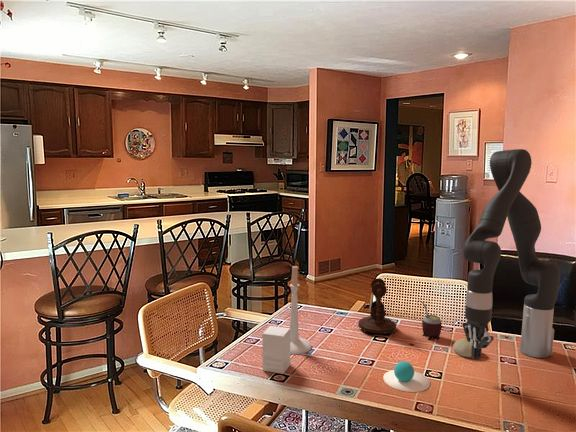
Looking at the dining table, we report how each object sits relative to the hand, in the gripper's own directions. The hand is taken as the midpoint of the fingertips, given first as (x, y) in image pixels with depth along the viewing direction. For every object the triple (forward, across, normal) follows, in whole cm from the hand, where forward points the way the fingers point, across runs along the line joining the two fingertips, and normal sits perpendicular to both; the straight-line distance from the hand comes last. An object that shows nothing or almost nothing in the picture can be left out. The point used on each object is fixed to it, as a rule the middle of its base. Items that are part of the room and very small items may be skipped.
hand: (475, 358), depth 144 cm
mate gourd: (+7, +32, -3) cm, 33 cm away
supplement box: (+6, +19, +60) cm, 63 cm away
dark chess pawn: (+7, +43, +14) cm, 46 cm away
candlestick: (+6, +34, +50) cm, 61 cm away
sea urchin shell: (+8, +17, -8) cm, 21 cm away
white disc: (+6, +3, +22) cm, 23 cm away
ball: (+3, +3, +22) cm, 23 cm away
